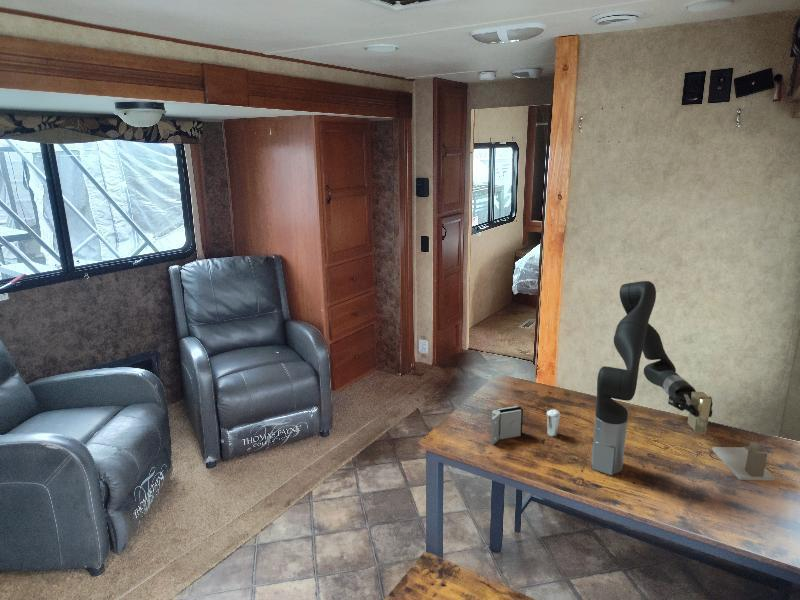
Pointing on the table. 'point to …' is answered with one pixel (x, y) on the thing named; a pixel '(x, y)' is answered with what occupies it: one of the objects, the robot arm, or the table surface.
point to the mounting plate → (745, 461)
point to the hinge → (506, 423)
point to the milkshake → (552, 422)
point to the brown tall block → (700, 412)
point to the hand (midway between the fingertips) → (703, 414)
